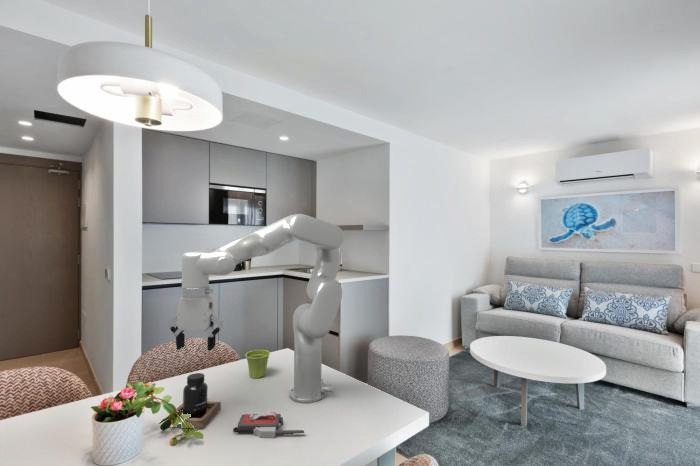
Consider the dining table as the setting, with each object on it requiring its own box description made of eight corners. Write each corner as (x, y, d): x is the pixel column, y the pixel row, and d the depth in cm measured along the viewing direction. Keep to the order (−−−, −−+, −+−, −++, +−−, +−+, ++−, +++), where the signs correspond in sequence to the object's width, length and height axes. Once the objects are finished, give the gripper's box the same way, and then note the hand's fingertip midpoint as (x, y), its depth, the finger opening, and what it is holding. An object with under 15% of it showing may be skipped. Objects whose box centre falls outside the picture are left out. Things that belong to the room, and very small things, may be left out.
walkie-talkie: (230, 440, 97) (303, 439, 98) (230, 424, 97) (303, 423, 98) (239, 422, 106) (306, 422, 106) (239, 408, 106) (306, 407, 106)
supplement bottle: (201, 421, 104) (201, 380, 104) (178, 421, 104) (178, 380, 104) (210, 409, 111) (211, 371, 111) (189, 409, 111) (189, 371, 111)
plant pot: (266, 380, 135) (266, 358, 135) (241, 380, 135) (242, 357, 135) (272, 371, 144) (272, 349, 144) (249, 370, 144) (249, 349, 144)
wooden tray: (220, 409, 112) (220, 401, 112) (202, 429, 101) (202, 420, 101) (186, 407, 113) (186, 399, 113) (164, 427, 102) (164, 418, 102)
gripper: (228, 290, 110) (228, 345, 110) (175, 290, 112) (175, 343, 112) (217, 295, 103) (217, 353, 103) (160, 294, 104) (161, 352, 104)
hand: (195, 348), depth 107 cm, fingers open, 9 cm apart
